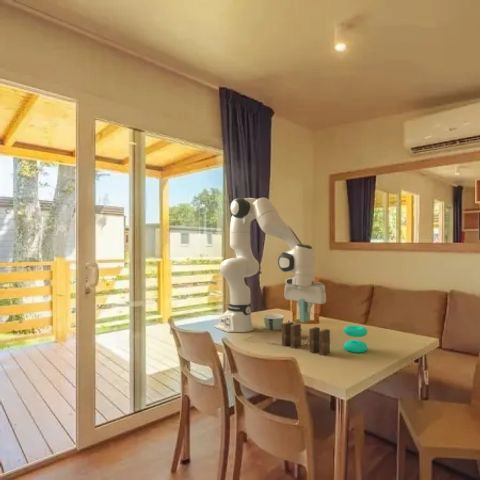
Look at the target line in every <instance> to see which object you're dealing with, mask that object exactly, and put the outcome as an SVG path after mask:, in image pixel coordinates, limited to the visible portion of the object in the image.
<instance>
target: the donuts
mask: <svg viewBox="0 0 480 480" xmlns="http://www.w3.org/2000/svg"><path fill="white" fill-rule="evenodd" d="M343 332H344V334H345V335H346V336H349V337H353V338H363V337H365V336H366V335H368V332H369V331H368V329H367V328H366V327H365V326H362V325H354V324H351V325H347V326H344V328H343ZM343 348H344V349H345V350H346V351H348V352H350V353H359V354H360V353H365V352H366V351H368V348H369V347H368V344H366V343H365V342H364V341H361V340H357V339H353V340H352V339H350V340H347V341H345V342H344V344H343Z"/></svg>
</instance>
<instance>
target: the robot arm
mask: <svg viewBox="0 0 480 480" xmlns="http://www.w3.org/2000/svg"><path fill="white" fill-rule="evenodd" d="M229 210H230V214H231V218H230V224H229V225H230V226H229V247H230V249H232V250H233V251H234V254H235V257H231V258H227V259H225V260H223V261H222V262H221V263H220V265H219V272H220V275H221V276H222V277H223V278H225V280H226V282H227V284H228V288H229V301H230V302H229V303H227V304H226V307H227V310H225V311H224V312H223V313H222V314H221V315H220V316H219V320H218V323H217V324H215V325H214V328H216V329H218V330H221V331H224V332H226V333H246V332H251V331H254V324H253V317H252V303H251V288H250V287H249V286H248V285H247V284H246V282H245V278H248V277H249V278H250V277H252V276H254V275H257V274H258V272H259V270H260V264H259V261H258V260H257V259H256V258H255V256H254V254H253V252H252V247H251V224H252V221H254V222H257V223H258V226H259V228H260V229H261V231H262V232H263V233H264V234H265V235H269V236H272V237H274V238H279V239H281V240H282V241H283V242H285V243H286V245H287V247H288V248H289V250H286V251H283V252H282V253H280V254H279V256H278V258H277V265H278V268H279V269H280V270H281V271H282V272H283V273H294V276H293V277H290V278H286V279H284V283H285V285H284V294H283V295H284V298H285V300H286V301H287V300H289V301H294V302H296V304H297V306H298V308H299V309H298V310H299V311H298V312H300V299H304V302H307V303H308V308H306V312H307V313H310V314H311V308H312V307H313V305H314V304H316V305H324V304H326V302H327V295H326V294H327V293H326V285H325V284H324V283H323V282H321V281H320V282H319V281H315V276H316V274H315V262H316V261H315V252H314V251H315V250H314V248H313V246H311V245H309V244H303V243H302V242H301V240H300V239H299V237H297V235H296V233H295V232H294V231H293V229H292V228H291V227H290V226H289V225H288V224H287V223H286V221H284V219H283V218H282V217H281V216H280V214H279V212H278V211H277V209H276V207H275V206H274V204H273V203H272V202H271V201H270V199H268V198H267V197H259V198H255V197H253V198H252V197H246V198H245V197H244V198H243V197H237V198H235V199H233V200H232V201H231V202H230V206H229Z"/></svg>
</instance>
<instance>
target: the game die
mask: <svg viewBox="0 0 480 480" xmlns="http://www.w3.org/2000/svg"><path fill="white" fill-rule="evenodd" d="M287 320H288V322H291V323H292V325H294V324H299V323H300V320H298V321H290V320H289V319H287ZM302 331H303V329H302V328H301V332H302Z"/></svg>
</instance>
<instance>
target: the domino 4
mask: <svg viewBox="0 0 480 480" xmlns="http://www.w3.org/2000/svg"><path fill="white" fill-rule="evenodd" d="M319 331H321V330H320V327H319V326H318V327H317V326H315V327H313V328H312V327H311V328H309V339H308V340H309V348H308V349H309V353H312V354H315V353H317V352H320V349H319Z"/></svg>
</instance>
